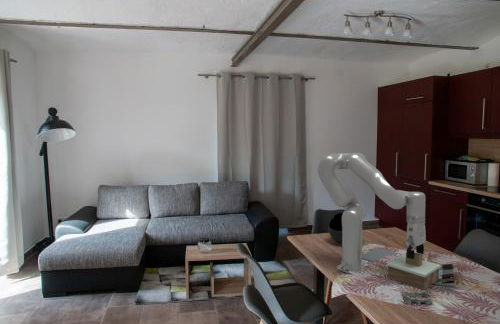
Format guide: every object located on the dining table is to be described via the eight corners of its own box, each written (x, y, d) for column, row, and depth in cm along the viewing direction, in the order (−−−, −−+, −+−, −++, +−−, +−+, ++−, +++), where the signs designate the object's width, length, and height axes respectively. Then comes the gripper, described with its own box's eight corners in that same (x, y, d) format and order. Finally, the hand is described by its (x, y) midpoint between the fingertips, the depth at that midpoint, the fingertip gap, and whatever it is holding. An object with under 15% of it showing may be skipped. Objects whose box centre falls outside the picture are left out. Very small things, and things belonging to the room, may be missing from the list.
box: (423, 292, 142) (424, 276, 142) (387, 280, 154) (388, 265, 154) (438, 281, 152) (439, 267, 152) (403, 271, 165) (404, 257, 164)
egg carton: (429, 300, 136) (429, 290, 136) (433, 309, 129) (433, 299, 129) (401, 296, 139) (401, 286, 139) (403, 304, 132) (403, 294, 132)
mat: (396, 269, 166) (396, 268, 166) (357, 257, 183) (357, 256, 183) (416, 259, 180) (416, 258, 180) (378, 248, 197) (378, 247, 197)
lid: (424, 277, 141) (425, 263, 140) (386, 265, 154) (387, 252, 153) (440, 267, 152) (441, 254, 151) (403, 256, 165) (404, 245, 164)
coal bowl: (349, 237, 219) (350, 209, 218) (367, 247, 200) (368, 216, 199) (322, 240, 214) (322, 211, 213) (338, 250, 195) (338, 218, 194)
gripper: (415, 223, 143) (415, 262, 144) (432, 217, 154) (431, 253, 155) (398, 220, 148) (398, 258, 150) (415, 214, 159) (415, 249, 161)
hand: (415, 255), depth 152 cm, fingers open, 9 cm apart
